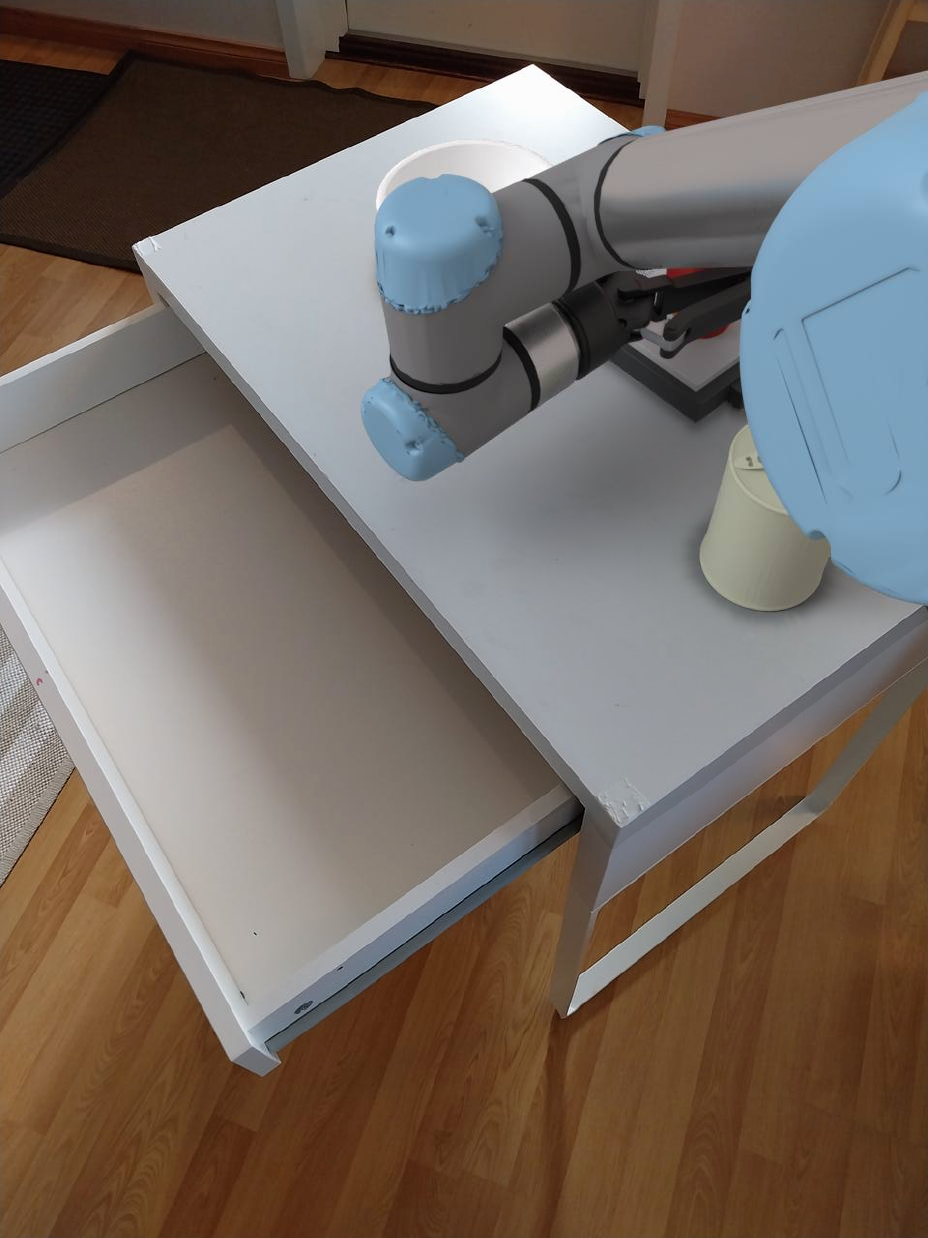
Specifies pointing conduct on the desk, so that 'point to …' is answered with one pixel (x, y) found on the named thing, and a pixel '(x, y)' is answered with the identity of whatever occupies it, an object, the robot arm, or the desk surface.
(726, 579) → the can
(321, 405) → the desk surface
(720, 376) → the scale
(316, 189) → the desk surface
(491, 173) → the bowl
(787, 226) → the robot arm
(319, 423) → the desk surface
